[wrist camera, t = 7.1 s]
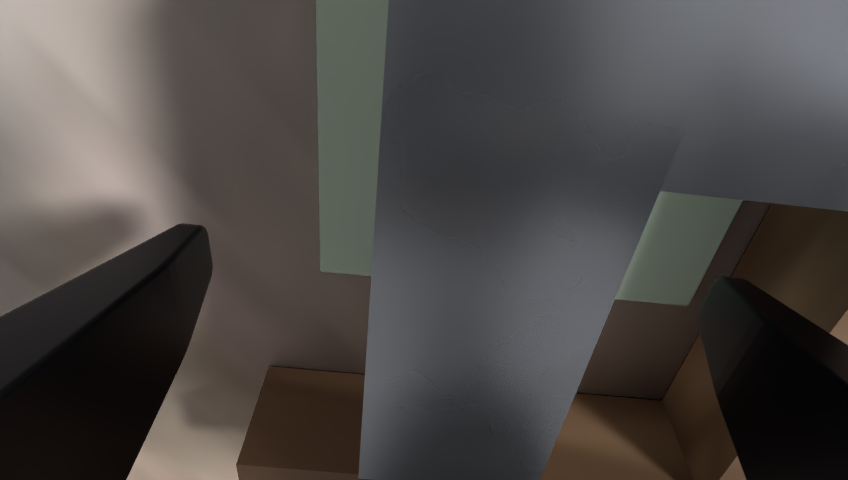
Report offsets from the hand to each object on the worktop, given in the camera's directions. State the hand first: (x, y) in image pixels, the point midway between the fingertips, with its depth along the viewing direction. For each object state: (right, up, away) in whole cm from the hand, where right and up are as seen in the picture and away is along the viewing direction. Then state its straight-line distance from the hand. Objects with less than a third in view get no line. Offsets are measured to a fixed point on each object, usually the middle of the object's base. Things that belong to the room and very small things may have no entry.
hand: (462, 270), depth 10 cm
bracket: (+2, +3, +1) cm, 3 cm away
